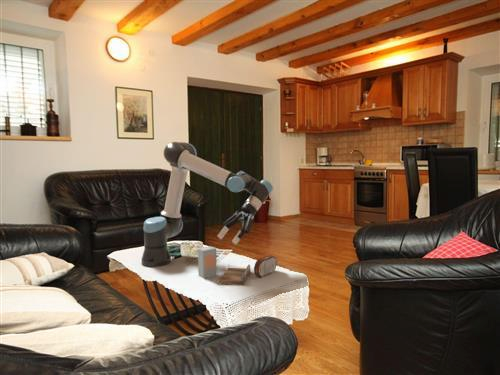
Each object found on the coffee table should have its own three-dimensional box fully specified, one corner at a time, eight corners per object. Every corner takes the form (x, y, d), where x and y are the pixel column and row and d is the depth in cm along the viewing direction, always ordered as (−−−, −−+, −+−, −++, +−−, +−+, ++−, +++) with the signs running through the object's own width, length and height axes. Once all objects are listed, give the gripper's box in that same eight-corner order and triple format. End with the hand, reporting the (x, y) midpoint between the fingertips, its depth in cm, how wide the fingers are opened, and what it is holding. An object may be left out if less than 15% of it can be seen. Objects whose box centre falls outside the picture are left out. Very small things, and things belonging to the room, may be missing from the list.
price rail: (248, 268, 171) (248, 264, 171) (250, 268, 171) (250, 264, 170) (241, 281, 153) (241, 277, 153) (243, 281, 153) (243, 277, 153)
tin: (272, 269, 174) (272, 252, 173) (277, 271, 172) (277, 254, 171) (253, 278, 162) (253, 260, 161) (258, 279, 160) (258, 261, 159)
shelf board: (228, 270, 173) (228, 267, 173) (250, 271, 171) (250, 268, 171) (218, 283, 155) (218, 280, 155) (243, 285, 153) (243, 281, 153)
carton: (198, 275, 166) (197, 248, 165) (211, 272, 170) (211, 246, 169) (203, 278, 162) (203, 250, 161) (217, 275, 166) (216, 248, 165)
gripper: (270, 214, 169) (245, 250, 162) (241, 208, 190) (218, 240, 182) (261, 204, 166) (235, 240, 159) (233, 199, 186) (208, 231, 179)
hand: (226, 240), depth 170 cm, fingers open, 13 cm apart
